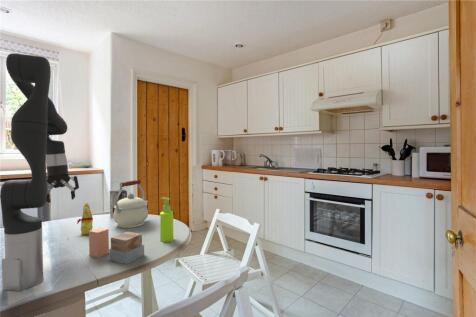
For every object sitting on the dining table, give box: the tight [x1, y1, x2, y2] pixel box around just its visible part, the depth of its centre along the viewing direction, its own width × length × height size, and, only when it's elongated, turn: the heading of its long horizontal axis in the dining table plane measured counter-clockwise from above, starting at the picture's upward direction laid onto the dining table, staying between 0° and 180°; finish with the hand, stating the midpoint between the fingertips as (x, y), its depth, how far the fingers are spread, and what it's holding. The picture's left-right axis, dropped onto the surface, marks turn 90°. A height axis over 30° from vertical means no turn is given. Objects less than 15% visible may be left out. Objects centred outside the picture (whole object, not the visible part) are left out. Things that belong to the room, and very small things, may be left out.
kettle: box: [112, 179, 149, 229], centre depth 147 cm, size 25×18×25 cm
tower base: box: [108, 243, 145, 265], centre depth 102 cm, size 9×9×4 cm
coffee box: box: [109, 189, 128, 218], centre depth 165 cm, size 9×6×16 cm
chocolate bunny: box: [76, 203, 94, 236], centre depth 132 cm, size 7×11×15 cm, turn 24°
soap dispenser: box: [159, 196, 174, 243], centre depth 121 cm, size 6×7×20 cm
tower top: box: [110, 231, 143, 252], centre depth 101 cm, size 8×8×4 cm
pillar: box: [88, 227, 110, 258], centre depth 104 cm, size 5×5×10 cm
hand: (61, 200), depth 113 cm, fingers open, 8 cm apart
